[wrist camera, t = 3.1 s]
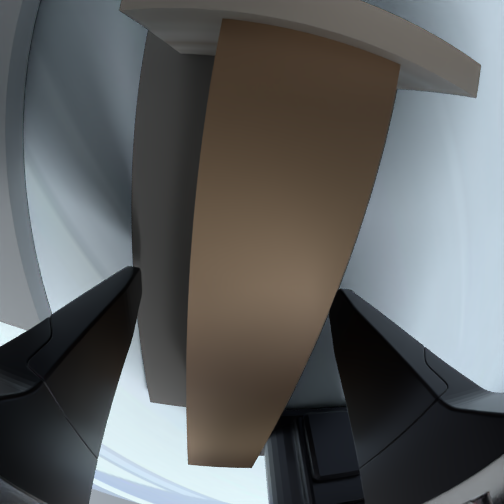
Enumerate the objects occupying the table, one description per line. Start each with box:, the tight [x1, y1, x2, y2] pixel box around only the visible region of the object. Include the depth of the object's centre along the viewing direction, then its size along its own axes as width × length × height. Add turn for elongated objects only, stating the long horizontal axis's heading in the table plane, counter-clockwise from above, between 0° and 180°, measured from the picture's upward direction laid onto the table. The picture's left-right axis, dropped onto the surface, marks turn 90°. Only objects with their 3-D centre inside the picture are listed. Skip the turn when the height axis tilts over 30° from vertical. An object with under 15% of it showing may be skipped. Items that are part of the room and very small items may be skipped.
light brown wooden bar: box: [119, 0, 481, 468], centre depth 8 cm, size 14×5×4 cm, turn 170°
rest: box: [131, 30, 397, 411], centre depth 10 cm, size 17×7×1 cm, turn 170°
